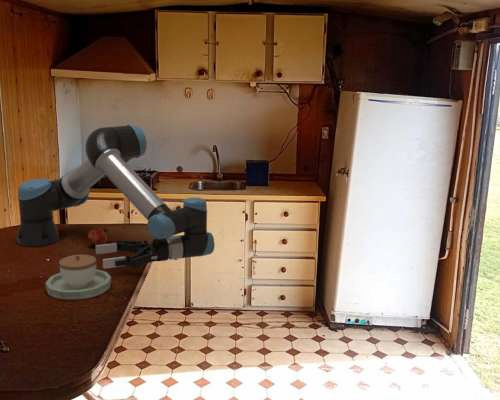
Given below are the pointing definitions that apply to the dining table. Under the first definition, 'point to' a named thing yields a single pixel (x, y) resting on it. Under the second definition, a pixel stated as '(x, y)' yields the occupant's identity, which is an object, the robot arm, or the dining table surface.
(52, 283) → the rimmed tray
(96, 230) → the pomegranate
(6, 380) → the dining table surface
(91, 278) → the lidded jar
